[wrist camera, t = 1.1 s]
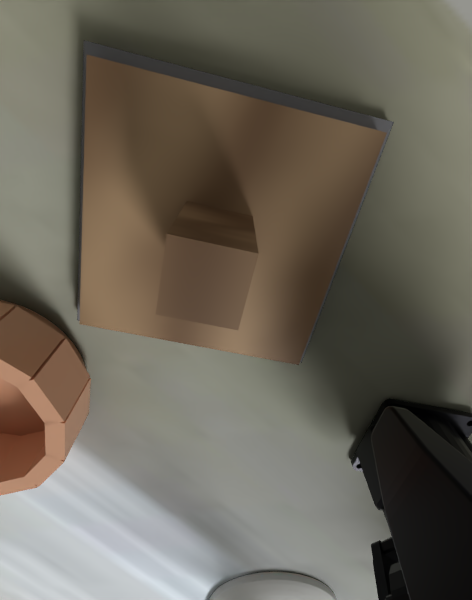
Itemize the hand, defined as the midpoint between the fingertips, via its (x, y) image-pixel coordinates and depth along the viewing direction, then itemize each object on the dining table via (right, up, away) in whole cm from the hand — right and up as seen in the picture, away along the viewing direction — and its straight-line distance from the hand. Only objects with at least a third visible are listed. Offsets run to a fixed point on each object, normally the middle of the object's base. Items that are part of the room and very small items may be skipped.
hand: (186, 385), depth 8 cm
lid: (0, +5, +10) cm, 11 cm away
